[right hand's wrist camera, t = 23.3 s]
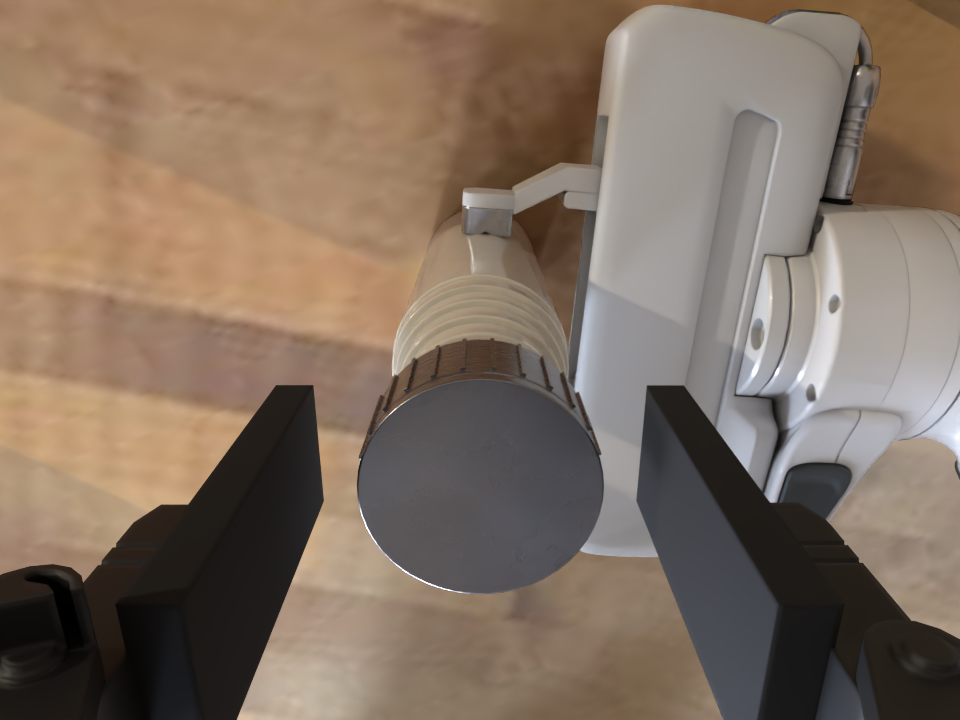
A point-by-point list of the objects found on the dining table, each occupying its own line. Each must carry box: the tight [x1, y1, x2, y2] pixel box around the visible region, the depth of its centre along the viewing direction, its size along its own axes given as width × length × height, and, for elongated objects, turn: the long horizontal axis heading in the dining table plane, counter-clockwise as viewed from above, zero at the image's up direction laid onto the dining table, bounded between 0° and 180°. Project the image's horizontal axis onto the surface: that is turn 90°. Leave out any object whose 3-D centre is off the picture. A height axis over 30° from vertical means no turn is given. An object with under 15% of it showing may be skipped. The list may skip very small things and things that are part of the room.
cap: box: [357, 338, 604, 594], centre depth 14 cm, size 5×5×2 cm
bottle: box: [392, 211, 569, 379], centre depth 22 cm, size 5×5×19 cm
